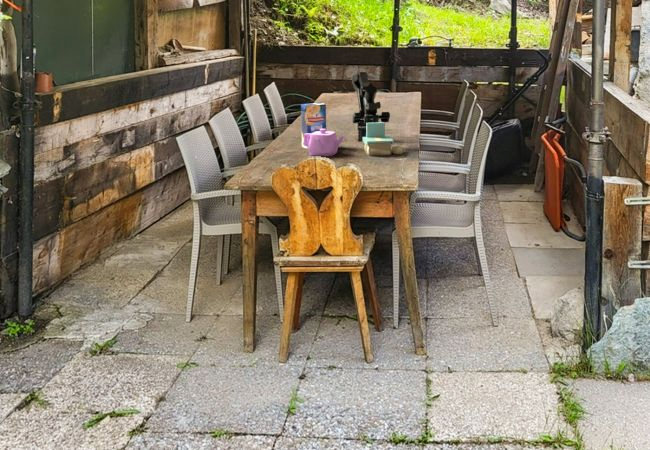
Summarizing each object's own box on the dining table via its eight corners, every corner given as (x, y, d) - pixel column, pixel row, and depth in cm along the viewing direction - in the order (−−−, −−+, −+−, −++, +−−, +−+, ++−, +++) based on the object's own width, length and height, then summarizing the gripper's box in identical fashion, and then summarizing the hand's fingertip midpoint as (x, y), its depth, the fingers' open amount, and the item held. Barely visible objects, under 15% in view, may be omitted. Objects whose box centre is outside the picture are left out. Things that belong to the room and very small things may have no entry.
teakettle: (329, 149, 430) (329, 125, 426) (346, 154, 415) (346, 129, 412) (300, 153, 422) (299, 128, 419) (316, 158, 407) (315, 132, 404)
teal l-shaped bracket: (362, 140, 423) (362, 122, 420) (388, 140, 424) (388, 122, 422) (367, 145, 409) (367, 126, 406) (393, 144, 410) (393, 126, 408)
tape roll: (391, 153, 415) (391, 147, 414) (393, 152, 420) (393, 145, 419) (402, 154, 414) (402, 147, 413) (403, 152, 419) (403, 146, 418)
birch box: (364, 150, 424) (364, 139, 423) (385, 150, 426) (386, 138, 424) (369, 155, 411) (368, 143, 409) (391, 154, 412) (391, 142, 411)
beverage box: (326, 146, 439) (326, 104, 433) (307, 148, 434) (306, 105, 428) (320, 144, 444) (319, 102, 439) (301, 146, 439) (300, 104, 434)
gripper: (353, 96, 428) (356, 122, 420) (389, 95, 430) (393, 120, 422) (350, 110, 437) (354, 135, 430) (386, 109, 439) (390, 133, 432)
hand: (373, 130), depth 428 cm, fingers closed
